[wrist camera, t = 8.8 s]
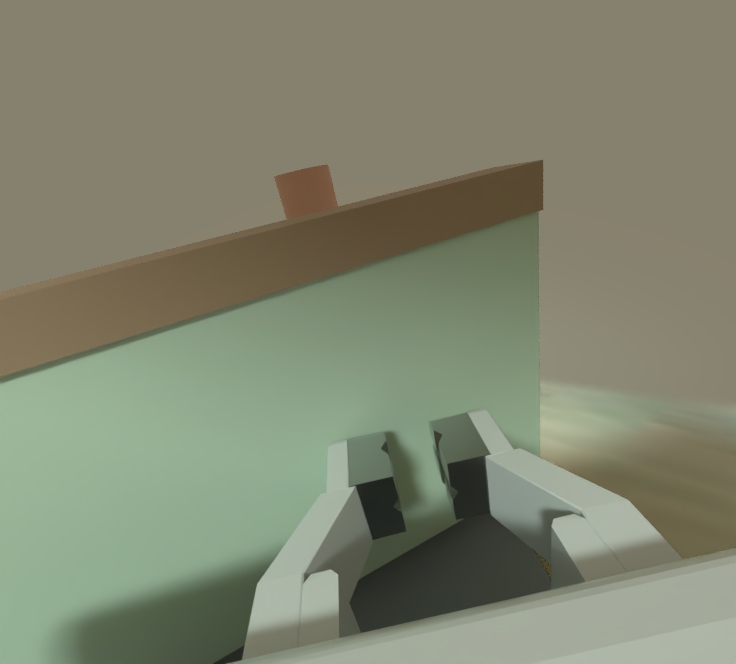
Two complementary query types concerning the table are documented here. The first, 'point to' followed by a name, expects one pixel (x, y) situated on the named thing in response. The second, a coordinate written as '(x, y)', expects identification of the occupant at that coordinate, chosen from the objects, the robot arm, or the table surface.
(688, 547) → the table surface
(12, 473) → the panel
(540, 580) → the board
